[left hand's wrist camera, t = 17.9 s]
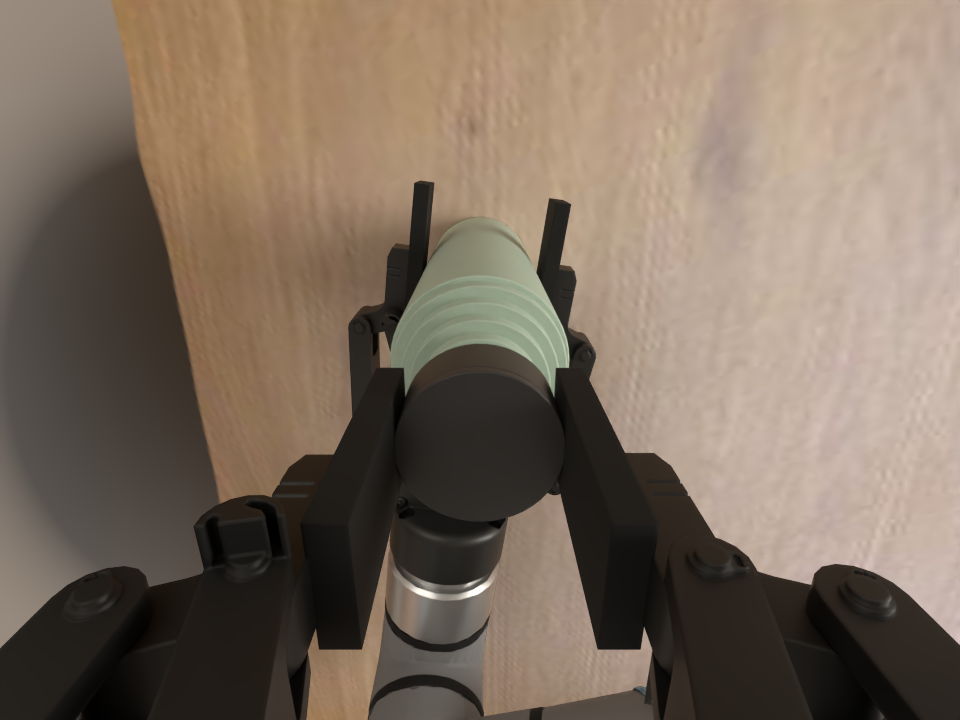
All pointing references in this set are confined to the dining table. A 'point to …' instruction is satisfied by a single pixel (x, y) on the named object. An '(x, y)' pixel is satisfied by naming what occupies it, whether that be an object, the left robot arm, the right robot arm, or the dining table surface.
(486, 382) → the cap
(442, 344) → the bottle
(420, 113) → the dining table surface
